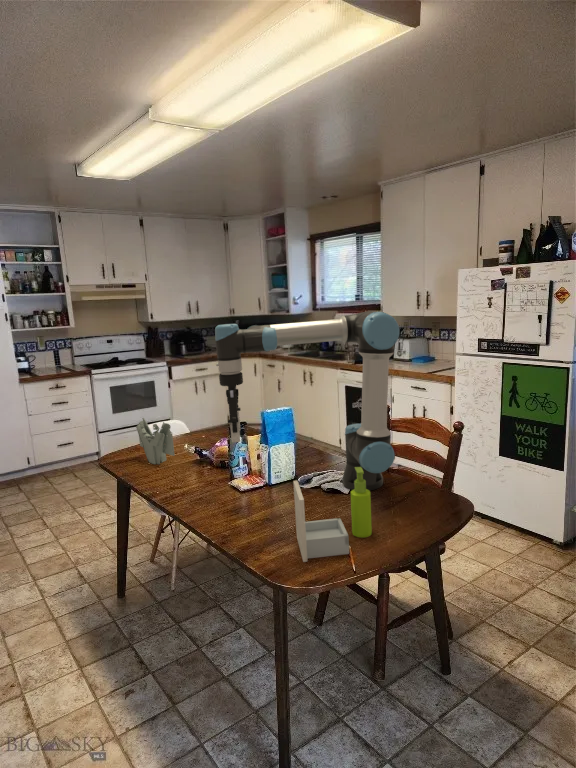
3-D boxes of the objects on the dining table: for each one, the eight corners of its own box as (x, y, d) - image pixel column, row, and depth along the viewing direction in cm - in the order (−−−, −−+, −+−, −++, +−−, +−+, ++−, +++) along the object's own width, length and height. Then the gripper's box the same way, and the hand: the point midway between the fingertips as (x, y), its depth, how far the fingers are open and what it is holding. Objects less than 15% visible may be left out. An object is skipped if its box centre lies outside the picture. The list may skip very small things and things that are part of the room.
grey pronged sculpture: (134, 458, 232) (129, 417, 228) (147, 454, 237) (142, 414, 233) (168, 469, 214) (163, 425, 210) (181, 464, 219) (177, 421, 215)
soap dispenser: (368, 526, 152) (366, 464, 148) (373, 536, 145) (371, 472, 141) (350, 527, 151) (347, 466, 148) (353, 538, 145) (351, 474, 141)
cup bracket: (339, 532, 148) (337, 476, 145) (350, 556, 135) (348, 495, 132) (296, 537, 147) (293, 480, 144) (303, 562, 134) (299, 500, 130)
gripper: (220, 367, 169) (226, 427, 173) (216, 379, 145) (223, 448, 149) (242, 366, 170) (247, 425, 174) (242, 377, 145) (248, 446, 149)
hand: (236, 436), depth 161 cm, fingers open, 13 cm apart
